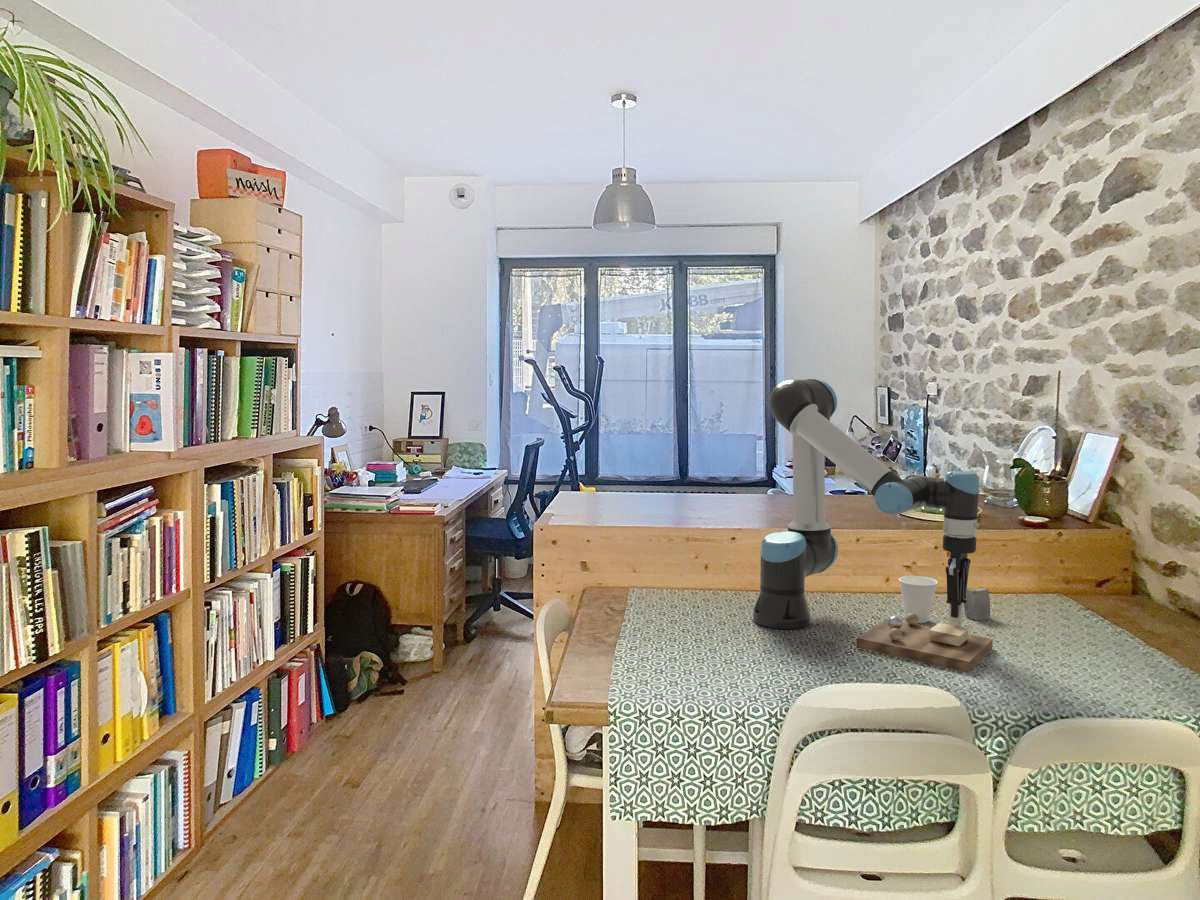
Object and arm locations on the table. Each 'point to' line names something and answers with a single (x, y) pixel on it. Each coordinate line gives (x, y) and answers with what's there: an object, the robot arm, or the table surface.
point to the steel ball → (894, 622)
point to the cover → (948, 634)
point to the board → (925, 646)
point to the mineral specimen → (977, 604)
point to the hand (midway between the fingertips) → (955, 629)
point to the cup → (918, 596)
